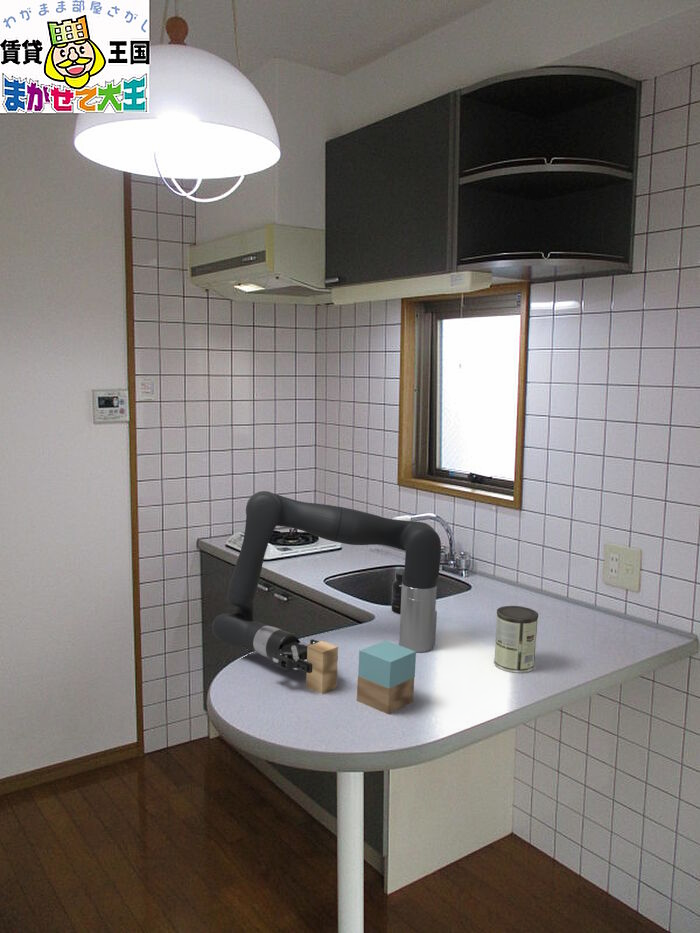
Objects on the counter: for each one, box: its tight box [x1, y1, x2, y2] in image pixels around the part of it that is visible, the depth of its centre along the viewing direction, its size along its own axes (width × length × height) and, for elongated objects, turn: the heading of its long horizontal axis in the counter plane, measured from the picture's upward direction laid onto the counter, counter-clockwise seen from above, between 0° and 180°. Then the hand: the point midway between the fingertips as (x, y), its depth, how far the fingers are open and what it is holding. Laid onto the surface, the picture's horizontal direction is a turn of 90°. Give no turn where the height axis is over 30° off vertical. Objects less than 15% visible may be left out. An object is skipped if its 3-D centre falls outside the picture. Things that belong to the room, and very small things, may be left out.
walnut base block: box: [356, 675, 415, 715], centre depth 175 cm, size 9×9×6 cm
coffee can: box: [493, 605, 539, 674], centre depth 198 cm, size 10×10×14 cm
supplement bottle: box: [390, 570, 404, 615], centre depth 236 cm, size 7×7×12 cm
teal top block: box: [357, 640, 417, 689], centre depth 174 cm, size 9×9×6 cm
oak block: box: [305, 640, 339, 695], centre depth 181 cm, size 5×5×10 cm
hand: (324, 663), depth 180 cm, fingers open, 8 cm apart
